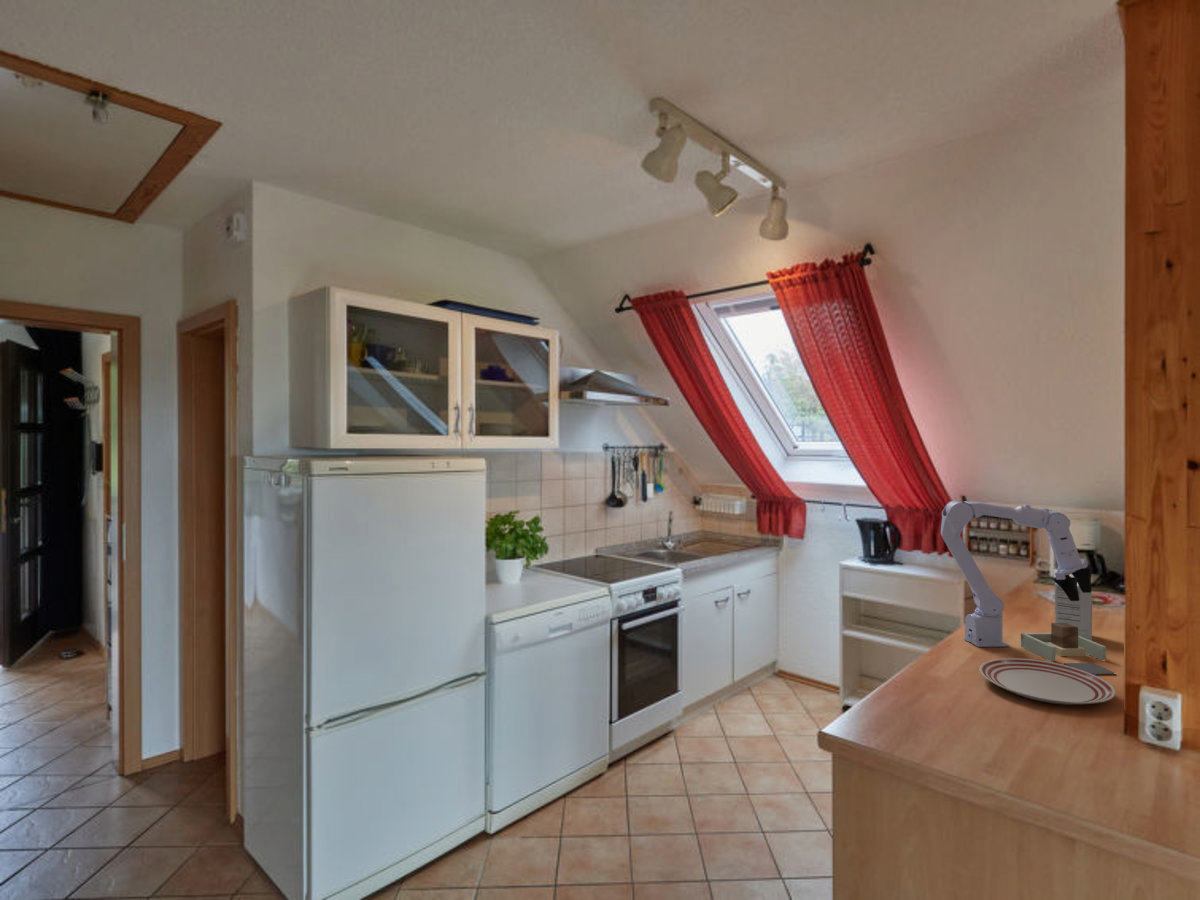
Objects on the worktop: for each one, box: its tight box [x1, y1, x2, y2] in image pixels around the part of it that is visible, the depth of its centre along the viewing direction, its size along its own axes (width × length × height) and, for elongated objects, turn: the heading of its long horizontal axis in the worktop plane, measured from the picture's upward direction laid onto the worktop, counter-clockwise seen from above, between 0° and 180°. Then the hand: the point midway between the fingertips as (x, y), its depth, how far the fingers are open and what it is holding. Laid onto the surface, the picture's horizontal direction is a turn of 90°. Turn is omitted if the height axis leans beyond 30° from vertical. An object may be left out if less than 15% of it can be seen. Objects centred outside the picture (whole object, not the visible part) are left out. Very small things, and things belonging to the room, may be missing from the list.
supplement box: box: [1054, 582, 1093, 641], centre depth 197 cm, size 10×9×17 cm
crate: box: [1020, 632, 1107, 663], centre depth 181 cm, size 15×13×4 cm
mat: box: [1063, 662, 1115, 676], centre depth 168 cm, size 8×8×1 cm
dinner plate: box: [979, 657, 1117, 705], centre depth 155 cm, size 28×27×3 cm
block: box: [1050, 622, 1078, 648], centre depth 182 cm, size 4×4×6 cm
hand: (1081, 596), depth 183 cm, fingers open, 7 cm apart
